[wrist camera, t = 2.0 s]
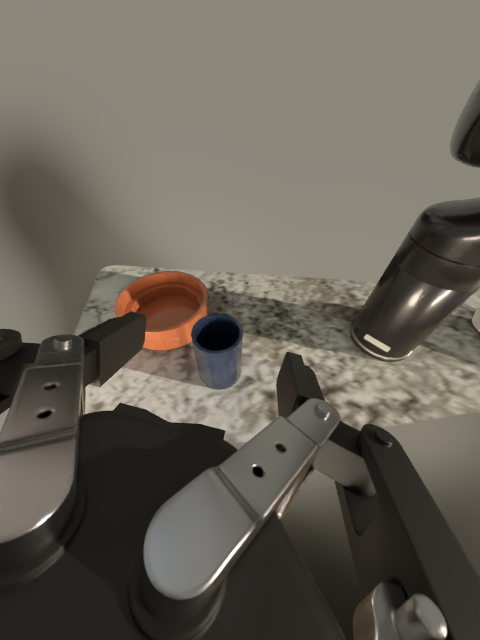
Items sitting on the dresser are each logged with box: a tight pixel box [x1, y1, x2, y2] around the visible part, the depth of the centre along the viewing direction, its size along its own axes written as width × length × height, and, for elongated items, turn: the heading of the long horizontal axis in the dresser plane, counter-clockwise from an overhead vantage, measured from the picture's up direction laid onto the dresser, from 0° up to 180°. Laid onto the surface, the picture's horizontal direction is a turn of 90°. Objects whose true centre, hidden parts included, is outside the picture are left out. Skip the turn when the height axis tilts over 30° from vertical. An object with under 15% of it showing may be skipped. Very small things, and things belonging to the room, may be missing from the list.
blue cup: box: [191, 313, 243, 390], centre depth 29 cm, size 6×6×9 cm
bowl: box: [115, 271, 210, 350], centre depth 37 cm, size 14×14×5 cm
